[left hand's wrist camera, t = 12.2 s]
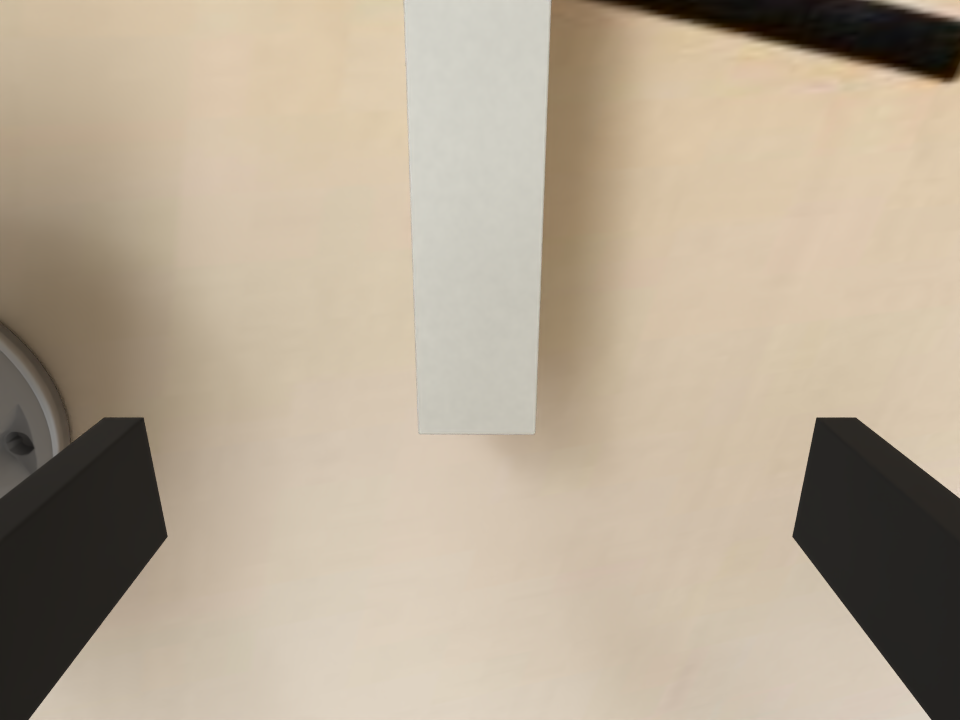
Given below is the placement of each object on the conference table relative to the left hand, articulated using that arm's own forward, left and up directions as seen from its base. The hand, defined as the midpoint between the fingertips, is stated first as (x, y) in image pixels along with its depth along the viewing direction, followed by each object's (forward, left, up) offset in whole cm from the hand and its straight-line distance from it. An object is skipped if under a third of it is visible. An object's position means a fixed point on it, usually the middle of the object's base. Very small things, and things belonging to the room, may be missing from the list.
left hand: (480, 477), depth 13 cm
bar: (+24, +26, -21) cm, 41 cm away
